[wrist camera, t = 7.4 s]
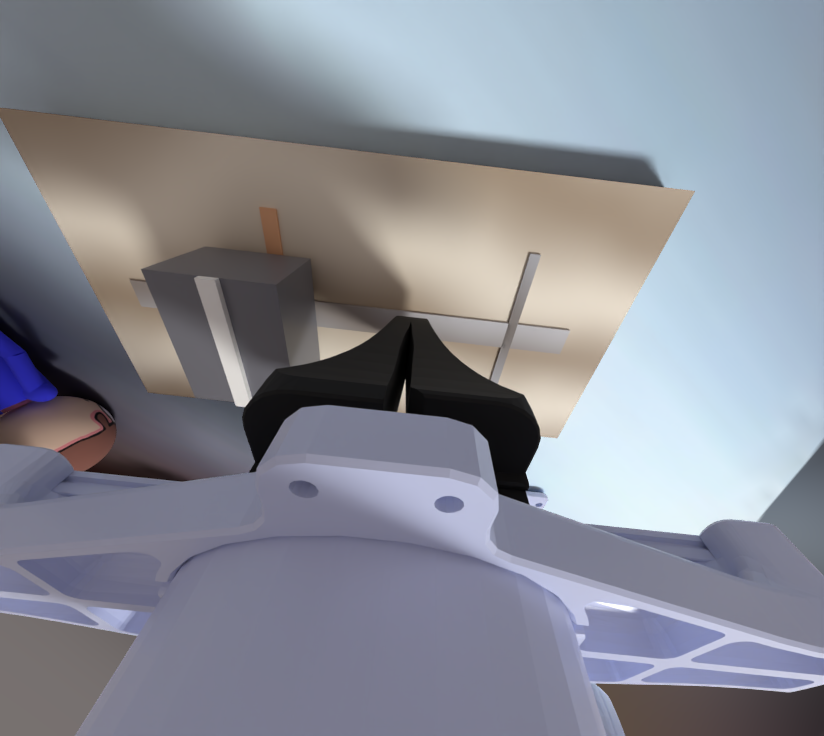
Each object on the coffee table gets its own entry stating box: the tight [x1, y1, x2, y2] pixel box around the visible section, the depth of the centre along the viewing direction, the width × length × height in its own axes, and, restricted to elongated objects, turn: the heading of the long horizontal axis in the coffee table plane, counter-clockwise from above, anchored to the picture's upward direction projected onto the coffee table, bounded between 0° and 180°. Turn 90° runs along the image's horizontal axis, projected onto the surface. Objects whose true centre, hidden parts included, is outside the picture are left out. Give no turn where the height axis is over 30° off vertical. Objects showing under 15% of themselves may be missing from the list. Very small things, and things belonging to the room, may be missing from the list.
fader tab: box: [141, 246, 320, 407], centre depth 11 cm, size 5×4×3 cm
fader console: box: [0, 108, 695, 438], centre depth 14 cm, size 12×23×2 cm, turn 84°
